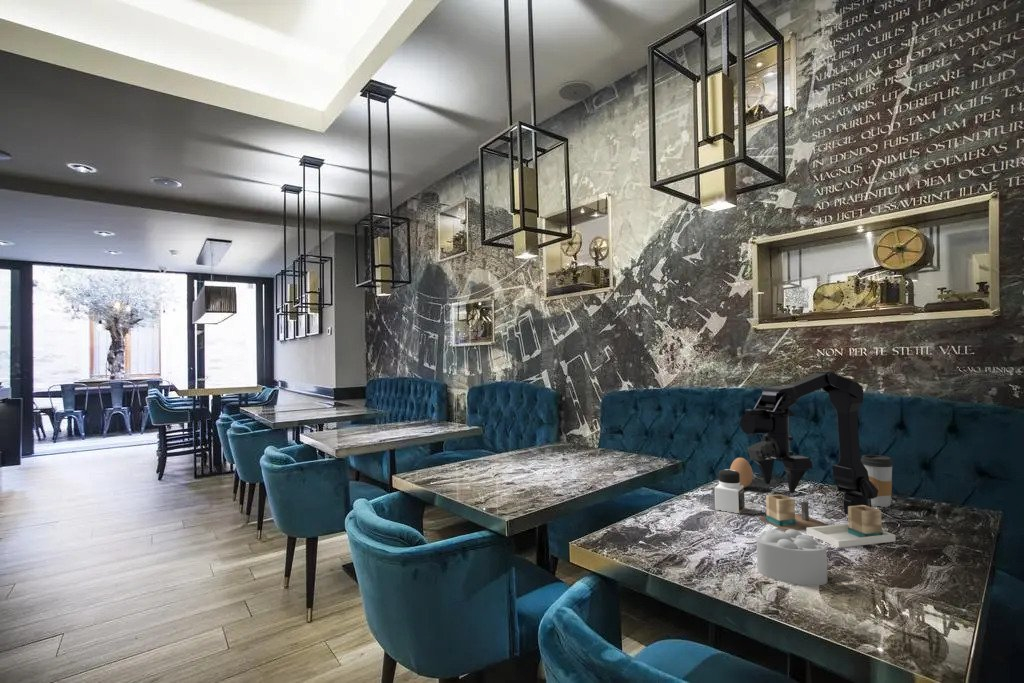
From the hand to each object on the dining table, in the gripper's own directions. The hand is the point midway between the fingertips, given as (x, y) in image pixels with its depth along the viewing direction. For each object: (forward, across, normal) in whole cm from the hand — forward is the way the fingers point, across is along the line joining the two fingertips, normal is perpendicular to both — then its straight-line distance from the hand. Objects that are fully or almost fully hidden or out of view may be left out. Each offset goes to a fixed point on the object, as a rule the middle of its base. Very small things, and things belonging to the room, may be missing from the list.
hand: (779, 488), depth 138 cm
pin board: (+10, 0, +4) cm, 11 cm away
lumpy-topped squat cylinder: (+11, +26, -19) cm, 35 cm away
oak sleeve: (+10, 0, 0) cm, 10 cm away
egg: (+11, -38, +16) cm, 42 cm away
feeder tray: (+10, +13, +10) cm, 19 cm away
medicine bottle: (+11, -17, -4) cm, 20 cm away
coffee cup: (+11, -9, +43) cm, 45 cm away
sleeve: (+10, +13, +14) cm, 22 cm away
